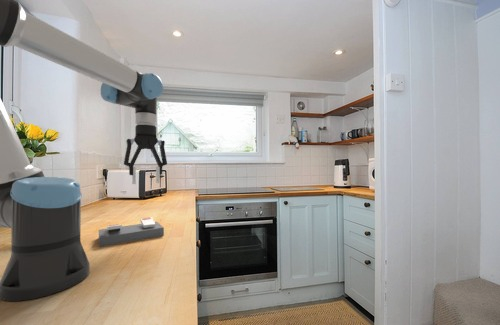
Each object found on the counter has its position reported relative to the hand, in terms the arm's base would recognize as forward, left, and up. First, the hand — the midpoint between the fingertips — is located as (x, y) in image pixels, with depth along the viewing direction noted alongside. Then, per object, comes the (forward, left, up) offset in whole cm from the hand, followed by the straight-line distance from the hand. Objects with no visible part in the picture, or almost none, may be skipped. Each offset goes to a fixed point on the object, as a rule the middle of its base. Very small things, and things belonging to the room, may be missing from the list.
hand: (146, 183), depth 88 cm
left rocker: (-3, +11, -15) cm, 19 cm away
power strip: (-3, +6, -19) cm, 20 cm away
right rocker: (-3, 0, -15) cm, 15 cm away
